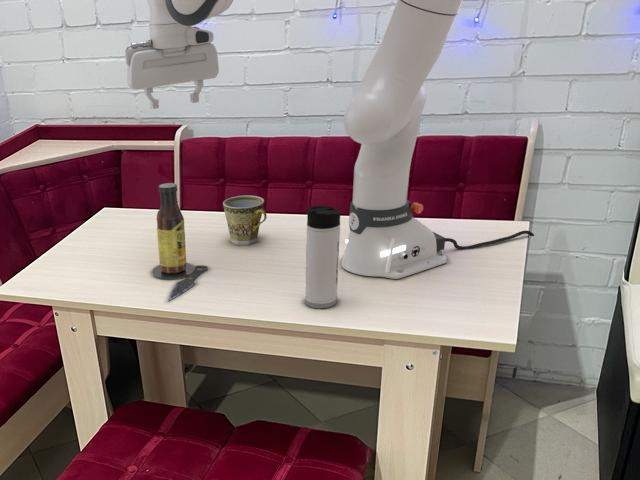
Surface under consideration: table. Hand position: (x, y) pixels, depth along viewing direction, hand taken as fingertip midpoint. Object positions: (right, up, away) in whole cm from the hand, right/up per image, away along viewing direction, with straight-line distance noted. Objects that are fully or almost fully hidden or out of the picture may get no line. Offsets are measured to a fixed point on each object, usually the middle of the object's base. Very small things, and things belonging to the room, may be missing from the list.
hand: (174, 105), depth 165 cm
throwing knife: (+3, -40, +2) cm, 40 cm away
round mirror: (0, -36, +9) cm, 37 cm away
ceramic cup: (+20, -26, +21) cm, 39 cm away
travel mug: (+29, -45, -13) cm, 55 cm away
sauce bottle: (0, -35, +9) cm, 36 cm away
